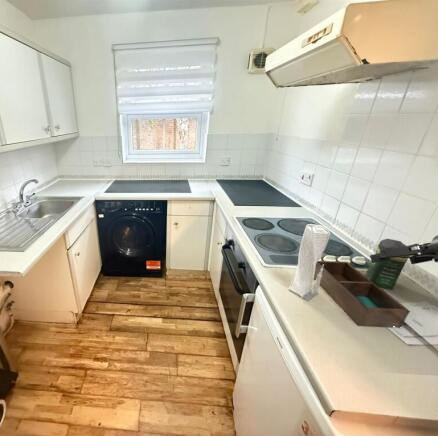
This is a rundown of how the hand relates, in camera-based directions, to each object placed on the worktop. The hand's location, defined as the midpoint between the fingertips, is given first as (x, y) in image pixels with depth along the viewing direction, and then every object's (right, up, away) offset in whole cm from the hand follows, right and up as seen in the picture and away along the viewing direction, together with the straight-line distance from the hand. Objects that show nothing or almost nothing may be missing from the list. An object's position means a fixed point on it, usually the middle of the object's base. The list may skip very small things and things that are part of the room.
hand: (391, 259), depth 86 cm
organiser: (-16, -13, -1) cm, 21 cm away
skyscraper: (-32, -12, +2) cm, 34 cm away
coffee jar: (0, -11, +6) cm, 12 cm away
